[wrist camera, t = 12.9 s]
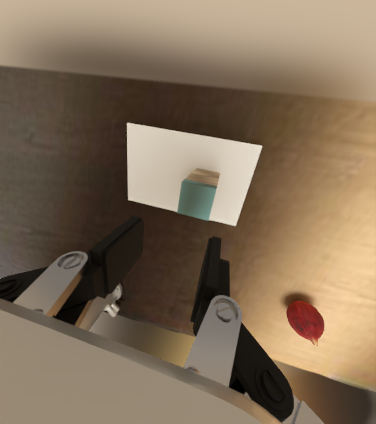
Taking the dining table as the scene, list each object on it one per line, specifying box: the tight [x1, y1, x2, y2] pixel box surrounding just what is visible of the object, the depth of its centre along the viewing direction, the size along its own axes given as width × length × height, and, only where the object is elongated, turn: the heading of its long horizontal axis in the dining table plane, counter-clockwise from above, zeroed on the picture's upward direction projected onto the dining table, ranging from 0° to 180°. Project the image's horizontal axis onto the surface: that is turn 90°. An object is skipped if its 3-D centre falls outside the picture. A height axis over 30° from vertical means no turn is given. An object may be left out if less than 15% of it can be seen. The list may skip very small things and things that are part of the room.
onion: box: [287, 301, 324, 346], centre depth 31 cm, size 6×6×8 cm
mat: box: [127, 123, 262, 226], centre depth 28 cm, size 22×14×1 cm, turn 82°
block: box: [177, 168, 220, 221], centre depth 23 cm, size 4×4×10 cm
